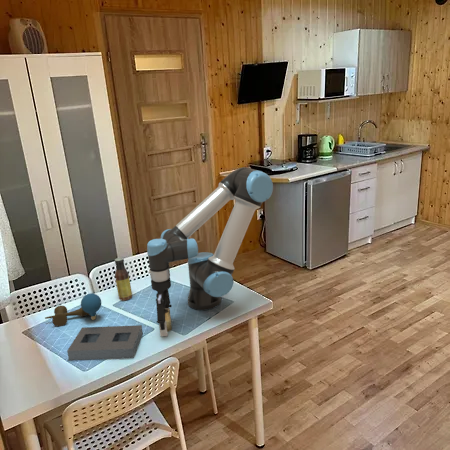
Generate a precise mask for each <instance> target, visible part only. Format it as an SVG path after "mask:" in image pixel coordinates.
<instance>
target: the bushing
mask: <svg viewBox="0 0 450 450" xmlns="http://www.w3.org/2000/svg"><path fill="white" fill-rule="evenodd" d="M170 315H171V309H170V310H168V309H165V321H166V325H167V333H169V332H171V331H172V329H173V328H172V327H173V326H172V316H171V317H170Z"/></svg>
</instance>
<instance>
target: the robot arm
mask: <svg viewBox="0 0 450 450" xmlns="http://www.w3.org/2000/svg"><path fill="white" fill-rule="evenodd" d="M273 191H274V184H273V180H272V178H271V177H270V176H269V175H268V173H265V172H263V171H262V170H257V169H254V168H251V167H246V166H243V167H239V168H237V169H235V170H232V172H230V173H229V174H228V175H226V176H225V177H223V179H222V180H221V181H220V182H219V183H218V186H217V187H216V188H215V189H214V190H213V191H212V192H210V194H209V195H207V196H206V198H204V199H203V200H202V201H201V202H200V203H199V204H197V206H196V207H194V208H193V209H192V210H191V211H190V212H189V213H188V214H187V215H186V216H184V217H183V218H182V219H181V220H180V221H179V222H178V223H177V224H176V225H174V227H172V228H169V229H165V230H163V231H162V232H161V235H160V238H153V239H151V240H149V241H148V242H147V245H146V246H147V247H146V248H147V249H146V250H147V258H148V264H149V265H148V266H149V270H148V274H150V284H151V285H150V286H151V289H152V290H153V291H155V292H157V293H156V298H155V304H156V315H157V316H156V318H157V321H156V323H157V324H158V327H159V335H160V337H168V332H167V325H166V321H165V309H168V310H170V311H171V308H172V304H171V299H170V294H169V293H170V292H169V289H170V288H171V287H172V282H171V270H170V263H173V262H174V263H175V262H178V261H184V260H187V267H188V275H189V277H188V278H189V286H190V287H189V291H188V295H187V305H188V307H190V308H191V309H193V310H196V311H197V310H198V311H207V310H212V309H214V308H216V307H218V306H220V305H221V303H222V297H223V296H226V295H228V294H229V293H230V292H231V291H232V289H233V287H234V282H235V281H234V277H233V273H234V271H235V266H234V262H235V260H236V259H235V258H236V256H237V255H238V253H239V250H240V247H241V245H242V242H243V240H244V238H245V235H246V233H247V231H248V228H249V225H250V223H251V221H252V218H253V217H254V215H255V212H256V210H258V209H260V208H261V207H262V204H263V203H264V202H266V201H267V200H269V199H270V198H271V196H272V194H273ZM234 200H235V203H234V206H233V208H232V209H231V212H230V215H229V218H228V220H227V222H226V225H225V227H224V229H223V231H222V235H221V237H220V239H219V241H218V244H217V246H216V249H215V251H214V253H213V252H210V251H209V252H208V251H206V252H205V251H204V252H199V246H198V243H197V240H196V239H195V238H194V237H193V238H190V237H191V236H193V234H194V233H195V232H197V231H198V230H199V229H200V228H201V227H202V226H203V225H204V224H206V223H207V222H208V221H209V220H210V219H211V218H212V217H213V216H215V214H216V213H217V212H218V211H220V210H221V209H222V208H223V207H224V206H225V205H226V204H228V202H230V201H234ZM171 315H172V314H170V317H171V318H172V316H171Z"/></svg>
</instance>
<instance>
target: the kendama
mask: <svg viewBox="0 0 450 450" xmlns="http://www.w3.org/2000/svg"><path fill="white" fill-rule="evenodd" d="M53 313H54V315H49V316H46V317H45V316H44V319H45V320H47V319H52V324H53V325H54V327H58V328H59V327H64V326H65V325H67V323H68V317H74V316H75V317H76V316H79V317H82V318H83V317H85V316H90V314H89V313H86V312H85V311H83V309H82V308H81V307H79V308H78V309H75V310H72V311H69V312H68V308H67V307H66V306H65V305H57V306H56V307H55V308H54V309H53Z"/></svg>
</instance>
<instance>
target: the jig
mask: <svg viewBox="0 0 450 450" xmlns="http://www.w3.org/2000/svg"><path fill="white" fill-rule="evenodd" d="M142 337H143V326H142V324H141V325H140V324H139V325H116V326H113V325H112V326H88V327H81V328H80V330H79V331H78V333H77V334H76V336H75V338H74V340H72V342H71V344H70V346H69V347H68V348H67V351H66V352H67V359H68V361H89V360H90V361H91V360H92V361H93V360H111V359H112V360H114V359H115V360H118V359H119V360H121V359H134V358H135V355H136V353H137V351H138V348H139V346H140V343H141V340H142Z"/></svg>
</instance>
